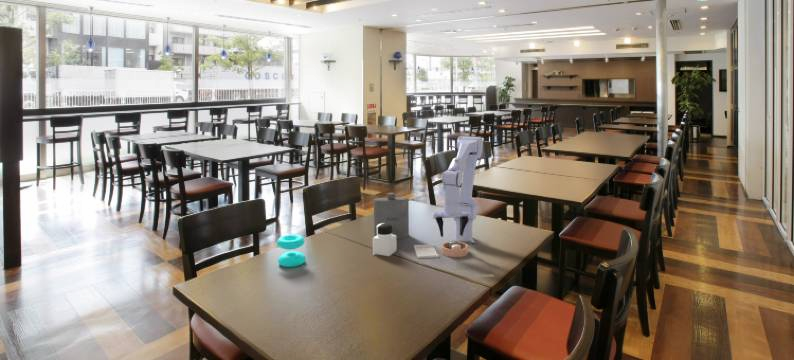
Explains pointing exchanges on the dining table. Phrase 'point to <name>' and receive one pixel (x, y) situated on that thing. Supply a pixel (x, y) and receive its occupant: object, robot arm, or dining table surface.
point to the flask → (392, 214)
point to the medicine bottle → (384, 240)
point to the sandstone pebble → (456, 247)
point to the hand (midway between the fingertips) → (451, 235)
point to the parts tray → (425, 251)
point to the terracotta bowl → (454, 253)
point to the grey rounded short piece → (452, 243)
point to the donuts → (291, 257)
